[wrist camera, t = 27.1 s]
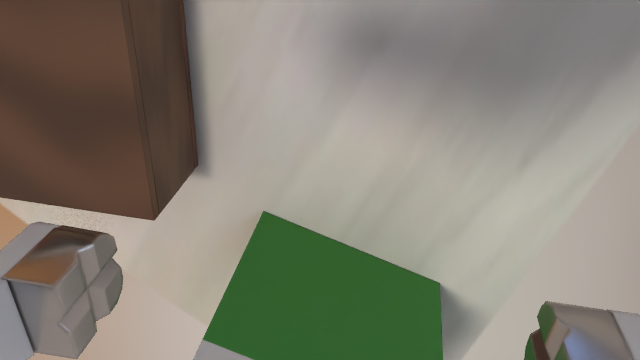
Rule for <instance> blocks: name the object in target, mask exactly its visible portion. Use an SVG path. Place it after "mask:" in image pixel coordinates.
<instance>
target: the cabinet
mask: <svg viewBox="0 0 640 360" xmlns="http://www.w3.org/2000/svg"><path fill="white" fill-rule="evenodd" d="M197 165H198V158H197V147H196V136H195V125H194V114H193V103H192V92H191V81H190V70H189V59H188V48H187V37H186V26H185V15H184V3H183V0H0V197H1V198H8V199H15V200H21V201H28V202H35V203H41V204H48V205H54V206H61V207H68V208H74V209H81V210H88V211H94V212H101V213H107V214H114V215H121V216H127V217H134V218H141V219H147V220H155V219H156V218H157V217H158V215H159V214H160V213H161V212H162V210H163V209H164V208H165V206H166V205H167V204H168V203H169V201H170V200H171V199H172V198H173V196H174V195H175V194H176V192H177V191H178V190H179V189H180V187H181V186H182V185H183V183H184V182H185V181H186V180H187V178H188V177H189V176H190V174H191V173H192V172H193V171H194V169H195V168H196V167H197Z"/></svg>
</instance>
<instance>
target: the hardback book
mask: <svg viewBox="0 0 640 360" xmlns="http://www.w3.org/2000/svg"><path fill="white" fill-rule="evenodd" d="M193 360H443V348H442V325H441V302H440V283H437V282H435V281H432V280H430V279H428V278H425V277H423V276H420V275H418V274H415V273H413V272H410V271H408V270H406V269H403V268H401V267H398V266H396V265H393V264H391V263H389V262H386V261H384V260H381V259H379V258H376V257H374V256H371V255H369V254H367V253H364V252H362V251H359V250H357V249H354V248H352V247H349V246H347V245H345V244H342V243H340V242H337V241H335V240H332V239H330V238H328V237H325V236H323V235H320V234H318V233H315V232H313V231H310V230H308V229H306V228H303V227H301V226H298V225H296V224H293V223H291V222H288V221H286V220H284V219H281V218H279V217H276V216H274V215H271V214H269V213H266V212H264V211H263V213H262V216H261V218H260V220H259V222H258V224H257V226H256V228H255V230H254V232H253V234H252V237H251V239H250V241H249V243H248V245H247V247H246V249H245V251H244V253H243V255H242V258H241V260H240V262H239V264H238V266H237V268H236V270H235V272H234V274H233V277H232V279H231V281H230V283H229V285H228V287H227V289H226V291H225V293H224V295H223V298H222V300H221V302H220V304H219V306H218V308H217V310H216V312H215V314H214V316H213V319H212V321H211V323H210V325H209V327H208V329H207V331H206V333H205V336H204V338H203V340H202V342H201V344H200V346H199V348H198V350H197V352H196V355H195V357H194V359H193Z"/></svg>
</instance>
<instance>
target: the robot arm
mask: <svg viewBox="0 0 640 360" xmlns="http://www.w3.org/2000/svg"><path fill="white" fill-rule="evenodd" d="M116 251H117V247H116V243H115V239H114V237H113V236H111V235H110V234H108V233H103V232H97V231H91V230H86V229H80V228H75V227H69V226H64V225H62V226H60V225H55V224H50V223H44V222H36V223H32V224H30V225H29V226H28V227H27V228H25V229H24V230H23V231H22V232H21V233H20V234H19V235H17V236H16V237H15V238H14V239H13V240H12V241H10V242H9V243H8V244H7V245H6V246H5V247H4V248H2V249H1V250H0V360H27V359H29V358H30V357H32V356H34V352H35V353H41V354H48V355H54V356H60V357H67V358H73V359H78V357H79V356H80V354H81V353H82V352H83V350H84V349H85V348H86V346H87V345H88V343H89V342H90V341H91V339H92V338H93V336H94V335H95V333H96V332H97V328H96V321H98V320H99V319H101V318H103V317H105V316H107V315H109V314H110V312H111V311H112V310H113V308H114V307H115V305H116V304H117V302H118V299H119V296H120V294H121V290H122V284H123V275H122V270H121V267H120V266H119V265H118V264H117V263H116V262H115V260H114V259H113V258H112V257H113V255H114V254H115V253H116ZM537 318H538V322H539V326H540V329H538V330H536V331H535V332H533V333H531V334H530V336H529V339H528V342H527V345H526V349H525V358H524V360H640V315H639V314H636V313H629V312H621V311H614V310H603V309H597V308H590V307H583V306H576V305H569V304H562V303H556V302H549V301H546V302H545V303H544V304H543V305H542V306H541V309H540V311H539V314H538V316H537Z"/></svg>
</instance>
